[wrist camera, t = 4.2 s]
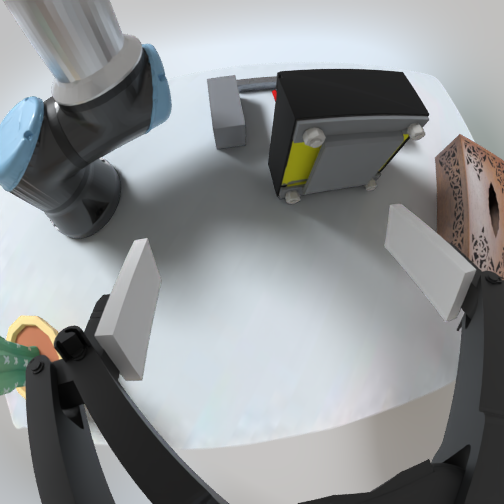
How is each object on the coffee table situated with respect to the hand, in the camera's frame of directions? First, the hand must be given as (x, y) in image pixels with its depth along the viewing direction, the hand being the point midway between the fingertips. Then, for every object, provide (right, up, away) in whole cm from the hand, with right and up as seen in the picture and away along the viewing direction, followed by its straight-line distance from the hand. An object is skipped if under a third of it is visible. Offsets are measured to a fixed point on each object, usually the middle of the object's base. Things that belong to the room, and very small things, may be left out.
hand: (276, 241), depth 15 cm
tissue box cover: (+40, +5, +30) cm, 51 cm away
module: (-6, +23, +33) cm, 41 cm away
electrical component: (+11, +13, +32) cm, 36 cm away
